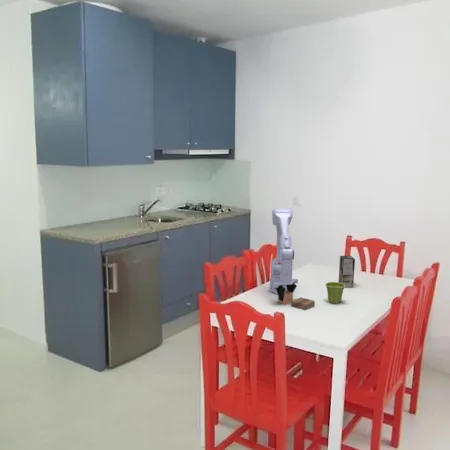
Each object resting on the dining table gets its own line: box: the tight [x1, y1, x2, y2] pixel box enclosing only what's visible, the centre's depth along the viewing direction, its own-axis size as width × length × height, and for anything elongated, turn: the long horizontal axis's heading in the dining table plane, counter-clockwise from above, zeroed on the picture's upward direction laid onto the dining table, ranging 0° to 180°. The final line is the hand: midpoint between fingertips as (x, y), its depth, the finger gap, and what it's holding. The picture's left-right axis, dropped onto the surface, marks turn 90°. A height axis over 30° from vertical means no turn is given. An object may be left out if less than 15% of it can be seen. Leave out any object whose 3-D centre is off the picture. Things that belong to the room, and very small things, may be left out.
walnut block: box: [290, 296, 316, 311], centre depth 219 cm, size 8×8×3 cm
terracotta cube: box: [277, 290, 294, 305], centre depth 224 cm, size 5×5×5 cm
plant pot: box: [325, 281, 345, 304], centre depth 226 cm, size 9×9×9 cm
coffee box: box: [338, 255, 356, 289], centre depth 253 cm, size 9×6×16 cm
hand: (285, 299), depth 225 cm, fingers closed on terracotta cube, 5 cm apart
